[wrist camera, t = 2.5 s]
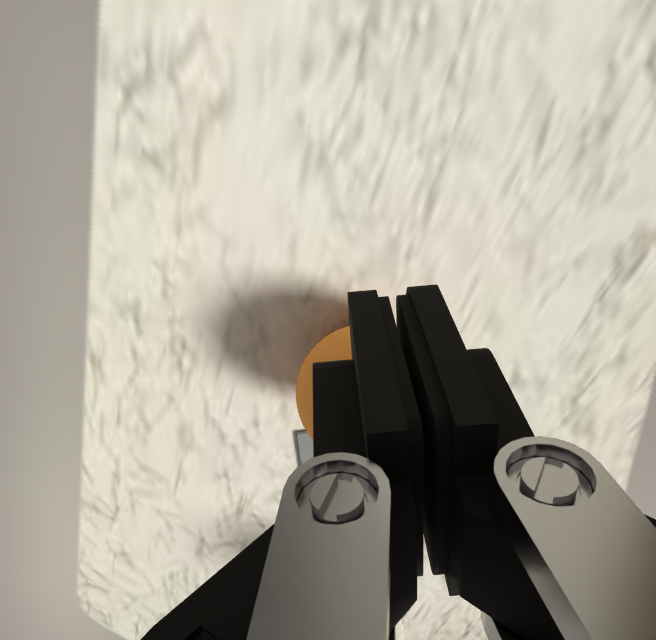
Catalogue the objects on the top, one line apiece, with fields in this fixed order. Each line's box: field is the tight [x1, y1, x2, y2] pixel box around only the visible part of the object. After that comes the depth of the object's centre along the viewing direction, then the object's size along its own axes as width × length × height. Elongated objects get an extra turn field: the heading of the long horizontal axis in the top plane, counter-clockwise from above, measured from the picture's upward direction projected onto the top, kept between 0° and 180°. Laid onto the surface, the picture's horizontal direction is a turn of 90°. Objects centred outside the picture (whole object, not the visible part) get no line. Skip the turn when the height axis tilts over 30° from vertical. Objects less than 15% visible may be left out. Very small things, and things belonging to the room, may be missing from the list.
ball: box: [296, 326, 352, 439], centre depth 25 cm, size 6×6×6 cm
